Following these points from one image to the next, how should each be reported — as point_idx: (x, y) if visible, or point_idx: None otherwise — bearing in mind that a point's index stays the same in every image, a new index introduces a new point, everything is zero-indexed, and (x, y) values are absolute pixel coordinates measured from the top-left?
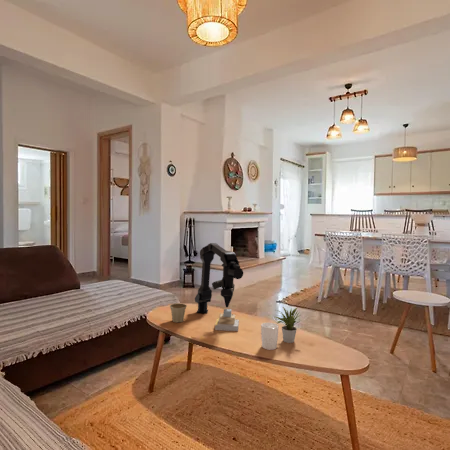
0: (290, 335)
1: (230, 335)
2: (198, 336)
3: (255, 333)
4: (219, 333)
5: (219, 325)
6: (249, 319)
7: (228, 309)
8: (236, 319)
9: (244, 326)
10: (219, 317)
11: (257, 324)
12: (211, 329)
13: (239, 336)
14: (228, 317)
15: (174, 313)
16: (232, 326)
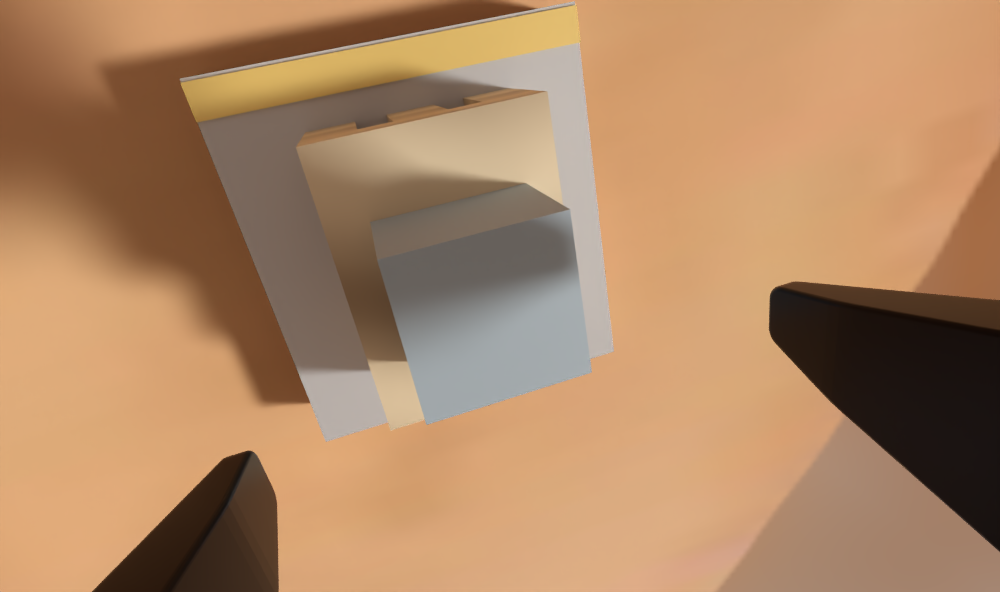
0: None
1: (108, 377)
2: None
3: (349, 574)
4: (85, 205)
5: (217, 167)
6: (768, 375)
7: (554, 320)
8: (608, 321)
9: (527, 408)
10: (298, 148)
11: (630, 494)
12: (194, 6)
13: (146, 481)
14: (362, 332)
15: None
16: (297, 369)
